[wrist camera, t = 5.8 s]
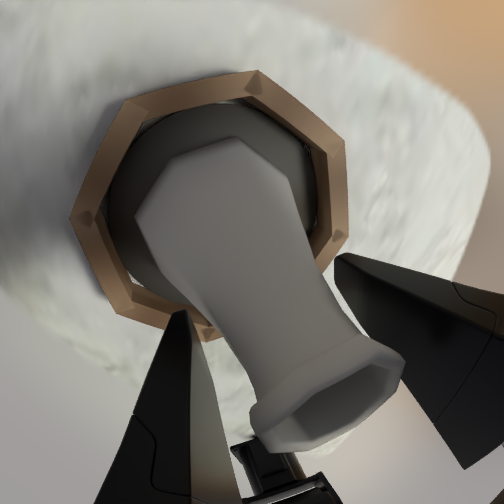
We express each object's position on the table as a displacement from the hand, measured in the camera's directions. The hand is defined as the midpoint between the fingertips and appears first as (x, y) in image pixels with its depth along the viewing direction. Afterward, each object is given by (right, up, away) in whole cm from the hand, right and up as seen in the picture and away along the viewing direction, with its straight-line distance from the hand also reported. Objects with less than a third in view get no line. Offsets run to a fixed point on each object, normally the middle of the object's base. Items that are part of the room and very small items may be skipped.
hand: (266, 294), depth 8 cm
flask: (-2, +3, +5) cm, 6 cm away
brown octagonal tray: (-2, +3, +5) cm, 6 cm away
